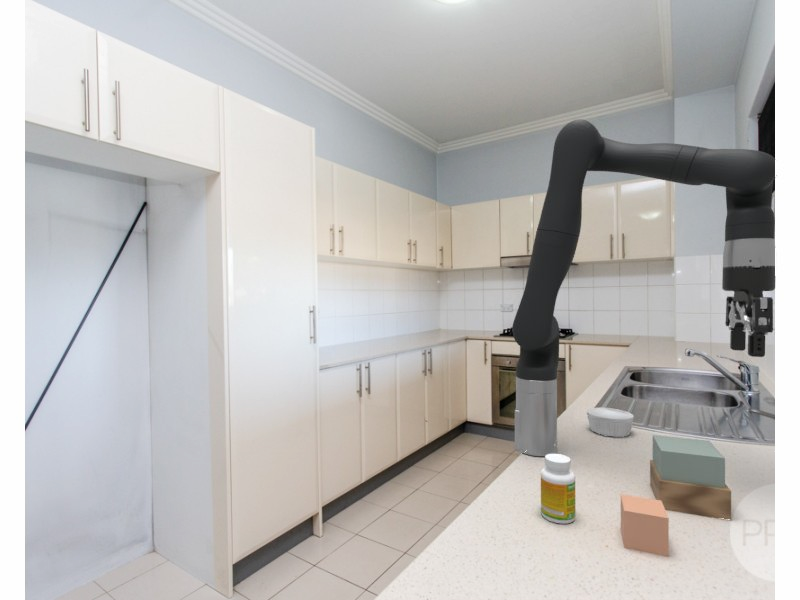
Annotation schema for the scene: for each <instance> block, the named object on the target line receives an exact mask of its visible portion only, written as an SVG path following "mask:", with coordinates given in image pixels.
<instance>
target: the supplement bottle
mask: <svg viewBox="0 0 800 600" xmlns="http://www.w3.org/2000/svg"><path fill="white" fill-rule="evenodd" d="M571 461H572V460H571V458H570V457H569V456H568V455H564V454H561V453H556V454H547V455H546V456H544V466H545V467H543V468H542V469H541V471H540V513H541V516H542V517H543V518H544V519H546V521H550V522H551V523H556V524H565V525H566V524H571V523H573V522H574V521H575V519H576V475H575V473H574V472H573V470H571V469H572V468H571V467H572V466H571V463H572V462H571Z"/></svg>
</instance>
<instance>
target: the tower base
mask: <svg viewBox="0 0 800 600" xmlns="http://www.w3.org/2000/svg"><path fill="white" fill-rule="evenodd" d="M649 469H650V470H649V473H650V474H649V482H650V483H649V486H650V488H651V491H652V492H653V496H654V500H660V501H662V503H663V506H664V508H665V511H670V512H675V513H676V512H677V513H682V514H687V515H695V516H699V517H700V516H701V517H707V518H712V517H714V519H718V518H724V519H731V520H732V490H731V489H730V488H729V487H728V485H727V484H726V483H725V488H717V487H710V486H703V485H696V484H689V483H682V482H675V481H668V480H661V478H660V476H659V474H658V471H657V469H656V467H655V465H654V463H653V459H649ZM724 519H723V520H724Z"/></svg>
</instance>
